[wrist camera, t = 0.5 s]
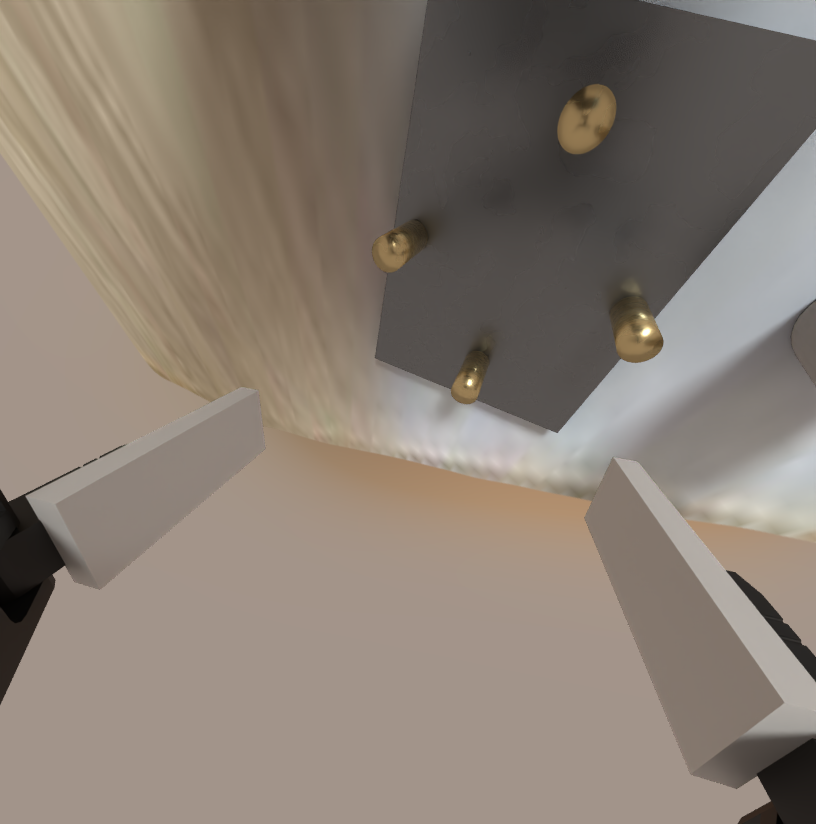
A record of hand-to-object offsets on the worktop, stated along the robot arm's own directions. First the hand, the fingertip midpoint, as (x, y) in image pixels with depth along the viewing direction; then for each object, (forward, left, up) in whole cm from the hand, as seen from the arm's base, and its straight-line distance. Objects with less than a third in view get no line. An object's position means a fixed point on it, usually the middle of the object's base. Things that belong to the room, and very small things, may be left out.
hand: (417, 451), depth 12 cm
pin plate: (-3, +1, -14) cm, 15 cm away
